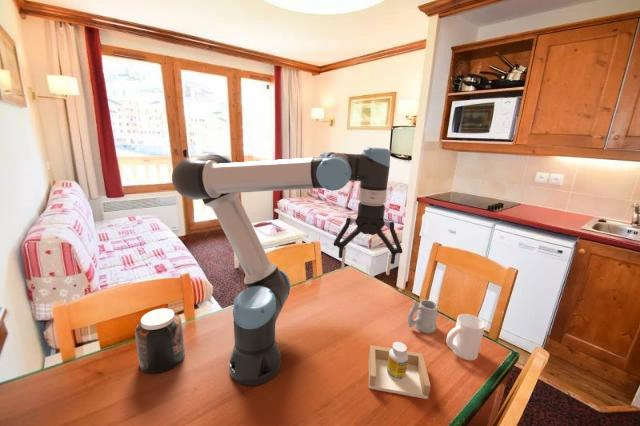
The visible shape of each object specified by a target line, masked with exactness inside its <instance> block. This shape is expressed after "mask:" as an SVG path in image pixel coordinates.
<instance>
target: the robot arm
mask: <svg viewBox="0 0 640 426" xmlns="http://www.w3.org/2000/svg"><path fill="white" fill-rule="evenodd" d="M390 164H391V151H390V150H389V149H388V148H384V147H370V146H369V147H364V148H363V150H362V153H359V154H358V153H357V154H356V153H346V152H333V151H331V152H321V153H320V154H319V156H318V157H303V158H289V159H288V158H287V159H274V160H260V161H244V162H243V161H242V162H233V160H231V159H230V158H229V157H227V156H225V155H221V154H213V153H212V154H211V153H210V154H207V155H200V156H192V157H191V156H190V157H186V158H184V159H182V160H180V161H179V162H178V163H176V165H175V166H174V168H173V170H172V172H171V173H172V175H171V181H172V185H173V187H174V189H175V190H176V191H177V193H178V194H180V196H182V197H184V198H186V199H189V200H192V201H193V200H201V201H202V202H203V204H204V206H207V207H209V208H211V209H212V210H213V212H214V215H215V216H216V218H217V220H218V222H219V224H220V226H221V229H222V230H223V232H224V234H225V237H226V238H227V241H228V242H229V244H230V246H231V248H232V250H233V252H234V253H235V256H236V258H237V260H238V262H239V264H240V266H241V267H242V270H243V272H244V274H245V276H244V279H243V282H244V286H245V289H243V290H241V291H240V292H238V294H237V295H236V297H235V299H234V300H233V306H232V307H233V308H232V318H233V335H234V336H233V337H234V345H233V349H232V352H231V354H230V358H229V360H228V368H229V369H228V370H229V374H230V376H231V379H232V380H233V381H235V382H236V383H238V384H240V385H243V386H249V387H251V386H252V387H253V386H259V385H263V384H265V383H267V382H269V381H270V380H272V379H273V378H274V377H275V376H276V375H277V373H278V372H279V370H280V368H281V363H282V362H281V360H282V359H281V358H282V354H281V351H280V350H279V346H278V345H277V342H276V323H277V320H278V318H279V315H280V313H281V311H282V310H283V306H284V305H285V304H286V301H287V299H288V297H289V295H290V291H291V280H290V278H289V276H288V275H287V273H286V272H285V271H283V270H281V269H280V268H279V267H278V266H277V263H274V262H271V261H270V259H269V256H268V255H267V252H266V251H265V248H264V247H263V245H262V242H261V241H260V239H259V236H258V235H257V232H256V230H255V228H254V226H253V225H252V222H251V220H250V218H249V216H248V213H247V211H246V210H245V208H244V206H243V203H242V201H241V199H240V197H239V196H240V193H241V194H242V193H254V192H256V193H257V192H273V191H274V192H275V191H292V190H295V191H296V190H309V189H310V190H313V189H315V190H316V189H318V190H319V189H321V190H322V189H325V190H328V191H331V192H332V191H333V192H334V191H335V192H336V191H338V190H341V189H343V188H345V186H346V185H348V183H349V182H350V181H351V182H360V184H359V185H360V186H359V192H358V193H359V194H358V196H359V197H358V200H359V203H358V207H357V216H356V217H351V215H348V216H346V220H345V224H344V225H343V227H342V228H341V230H339V231H340V232H339V233H338V234H337V236H336V238H335V239H334V241H333V244H332V245H333V246H334V247H337V248H338V258H339V259H341V267H340V269H341V270H345V263H346V251H347V250H346V249H347V245H348V244H349V243H350V242H351V241H352V240H353V239H355V238H356V237H357V236H358V235H359V234H361V233H362V234H363V235H372V236H375V235H376V234H377V236H378V237H379V238H380V240H381V241H382V243H383V244H384V245H385V247H387V249H388V253H387V261H386V269H385V274H386V276H390V271H391V265H394V264H395V261H396V256H397V254H403V252H404V251H403V248H402V245H401V244H400V239H399V238H398V235H397V233H396V230H395V221H394V220H393V219H390V220H384V216H385V209H386V207H385V204H386V202H387V201H386V199H387V192H388V191H387V190H388V184H389V183H388V182H389V175H390V168H391V165H390ZM354 223H355V226H356V228H355V229H353V230H352V232H351V233H350V234H348V235H347V236H346V237H345V238H344V239H343V240H342V238H343V237H344V235H345V234H346V232H347V231H348V229H349V227H350V226H352V225H353V224H354ZM384 226H385V227H386V228H387V229H389V231H390V234H391V237H392V239H393V242H394V245H395V247H394V246H393V244H392V243H391V240H389V238H388V237H387V236H386V235H385V233H384V231H383V230H382V229H383V228H384ZM341 240H342V241H341Z"/></svg>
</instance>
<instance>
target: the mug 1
mask: <svg viewBox="0 0 640 426" xmlns="http://www.w3.org/2000/svg"><path fill="white" fill-rule="evenodd" d="M438 310H439V305H437V303H436V302H434V301H433V300H430V299H429V300H428V299H421V300H420V301H419V304H418V302H417V300H413V304H412V307H411V309H410V310H409V312H408V314H407V325H408V326H409V328H412V327H414V326H415V328H416V329H417V330H418V331H420V333H424V334H433V333H434V332H435V331H436V329H437V318H438V315H439V313H438ZM416 312H417V314H416ZM414 314H416V317H415V318H414Z"/></svg>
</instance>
